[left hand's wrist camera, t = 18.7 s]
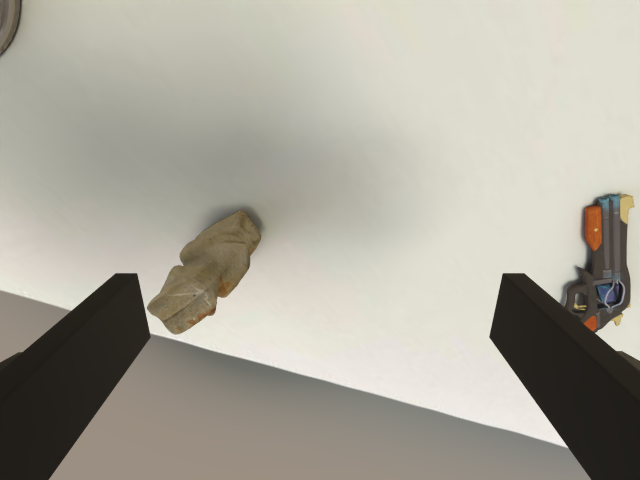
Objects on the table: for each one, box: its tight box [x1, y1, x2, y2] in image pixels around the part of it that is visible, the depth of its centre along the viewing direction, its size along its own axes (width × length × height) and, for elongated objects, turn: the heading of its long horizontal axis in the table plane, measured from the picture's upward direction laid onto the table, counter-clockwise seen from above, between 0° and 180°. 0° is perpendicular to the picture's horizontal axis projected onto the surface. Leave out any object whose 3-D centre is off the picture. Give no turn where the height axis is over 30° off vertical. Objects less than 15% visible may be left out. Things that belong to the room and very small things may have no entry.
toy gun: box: [564, 194, 634, 333], centre depth 41 cm, size 3×19×10 cm
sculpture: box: [147, 210, 261, 334], centre depth 33 cm, size 6×7×15 cm
